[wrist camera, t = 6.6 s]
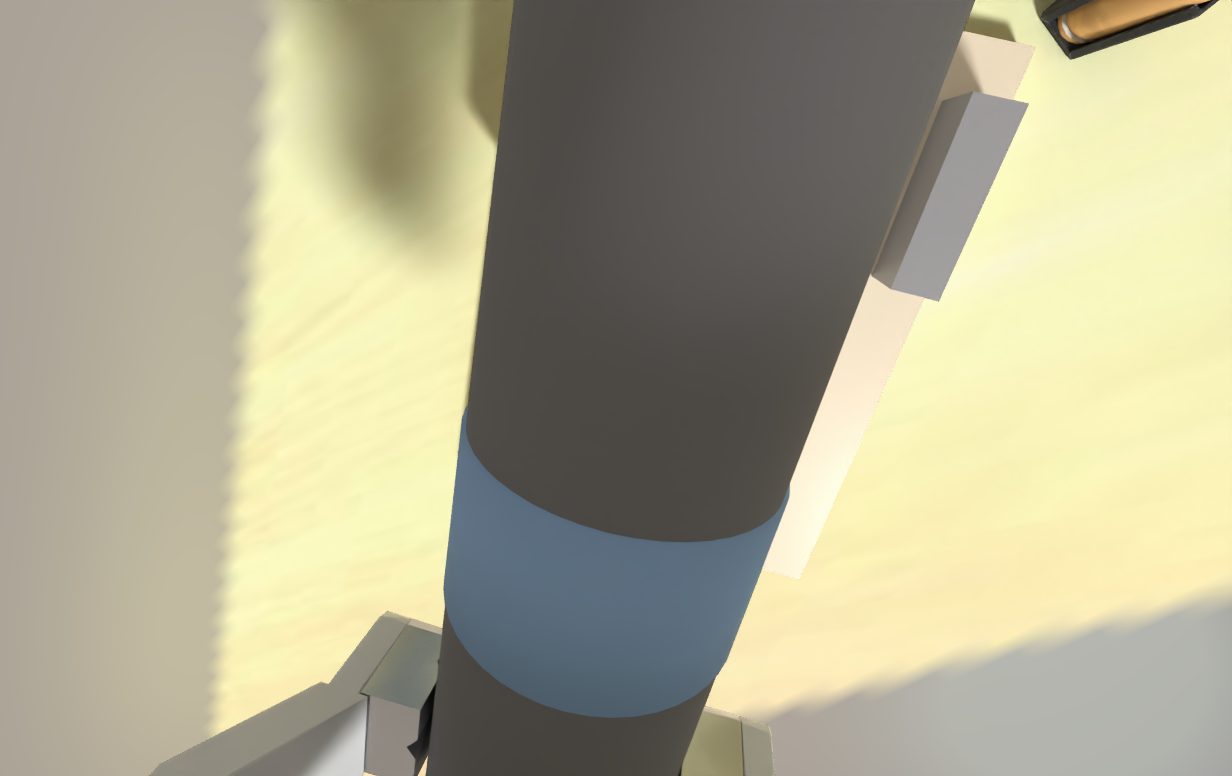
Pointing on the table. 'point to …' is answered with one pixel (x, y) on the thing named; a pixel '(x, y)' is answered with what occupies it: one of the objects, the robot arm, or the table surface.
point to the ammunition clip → (1114, 21)
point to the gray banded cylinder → (657, 351)
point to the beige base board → (907, 272)
